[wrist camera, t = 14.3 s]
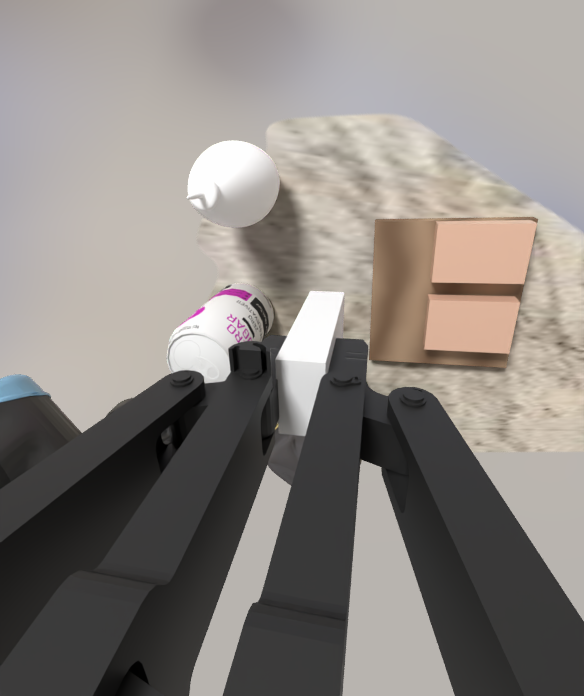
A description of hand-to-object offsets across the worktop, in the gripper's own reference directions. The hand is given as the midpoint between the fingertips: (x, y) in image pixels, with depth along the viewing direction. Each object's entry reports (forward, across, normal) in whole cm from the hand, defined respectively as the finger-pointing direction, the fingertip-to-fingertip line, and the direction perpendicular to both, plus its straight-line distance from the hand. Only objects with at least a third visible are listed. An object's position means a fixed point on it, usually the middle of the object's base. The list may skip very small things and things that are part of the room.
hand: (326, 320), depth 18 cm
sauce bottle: (+31, +12, -4) cm, 34 cm away
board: (+31, -10, +8) cm, 33 cm away
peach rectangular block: (+28, -8, +11) cm, 31 cm away
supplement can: (+31, +15, +12) cm, 37 cm away
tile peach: (+28, -8, +3) cm, 29 cm away
